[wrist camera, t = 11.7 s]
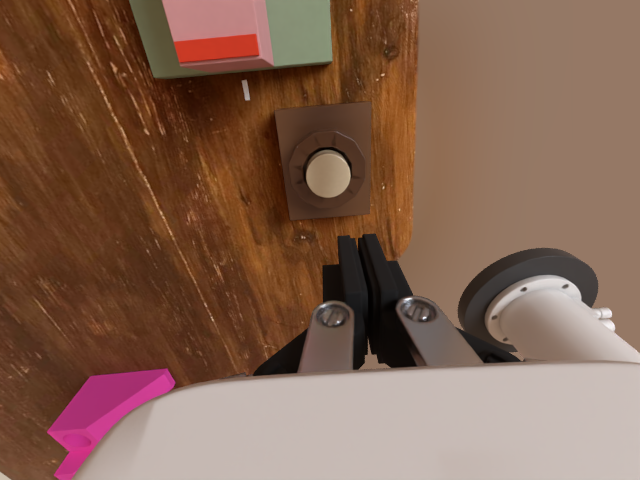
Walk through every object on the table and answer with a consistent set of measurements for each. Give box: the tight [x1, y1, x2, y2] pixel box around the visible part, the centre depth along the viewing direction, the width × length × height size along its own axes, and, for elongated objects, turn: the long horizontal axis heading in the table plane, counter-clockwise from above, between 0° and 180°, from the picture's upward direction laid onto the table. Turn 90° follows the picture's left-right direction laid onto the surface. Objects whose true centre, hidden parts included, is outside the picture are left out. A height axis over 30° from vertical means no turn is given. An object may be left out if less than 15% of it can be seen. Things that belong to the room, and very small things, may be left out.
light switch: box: [274, 101, 371, 220], centre depth 25 cm, size 8×10×4 cm
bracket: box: [47, 369, 175, 480], centre depth 39 cm, size 12×10×10 cm
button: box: [306, 150, 350, 198], centre depth 23 cm, size 4×4×2 cm
